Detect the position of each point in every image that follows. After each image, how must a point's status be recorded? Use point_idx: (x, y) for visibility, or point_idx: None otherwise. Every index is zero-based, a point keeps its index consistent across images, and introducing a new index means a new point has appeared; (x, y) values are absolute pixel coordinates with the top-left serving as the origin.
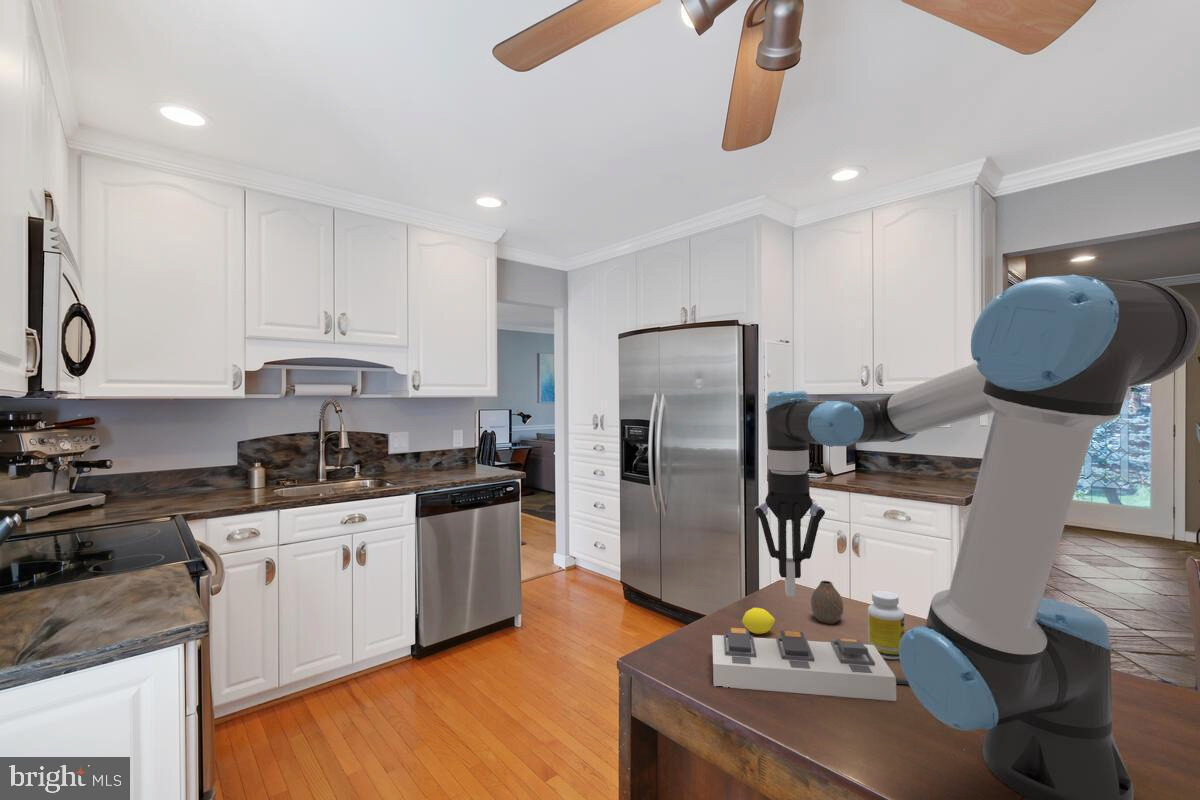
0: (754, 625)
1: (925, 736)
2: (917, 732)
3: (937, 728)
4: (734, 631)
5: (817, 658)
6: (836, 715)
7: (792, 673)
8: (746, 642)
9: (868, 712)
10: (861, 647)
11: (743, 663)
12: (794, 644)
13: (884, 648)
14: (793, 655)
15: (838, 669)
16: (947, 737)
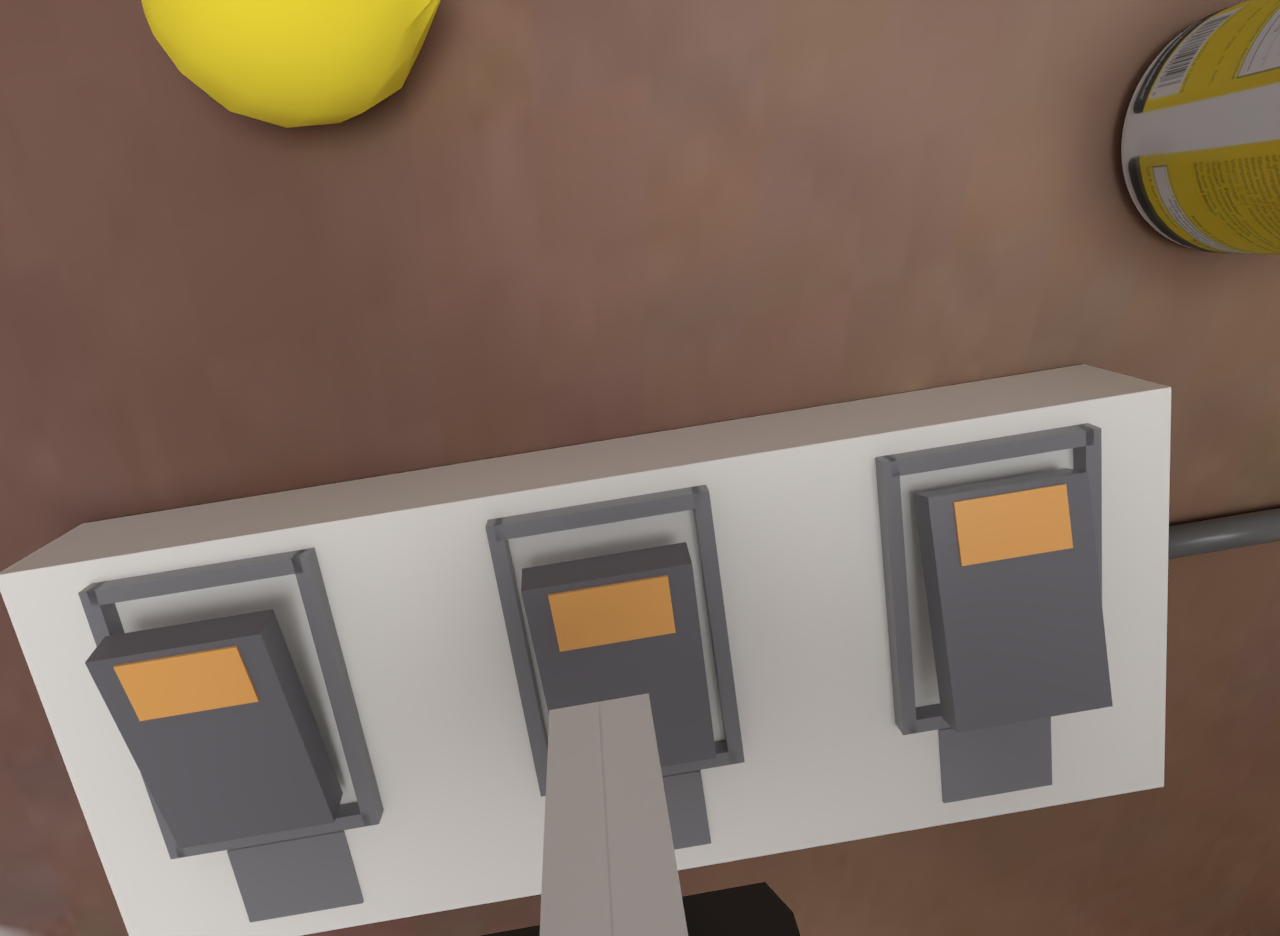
0: (276, 124)
1: (1115, 931)
2: (1094, 916)
3: (1184, 865)
4: (159, 701)
5: (762, 706)
6: (792, 907)
7: None
8: (287, 787)
9: (934, 842)
10: (1076, 687)
11: (318, 908)
12: None
13: (1228, 248)
14: None
15: (869, 798)
16: (1197, 910)
